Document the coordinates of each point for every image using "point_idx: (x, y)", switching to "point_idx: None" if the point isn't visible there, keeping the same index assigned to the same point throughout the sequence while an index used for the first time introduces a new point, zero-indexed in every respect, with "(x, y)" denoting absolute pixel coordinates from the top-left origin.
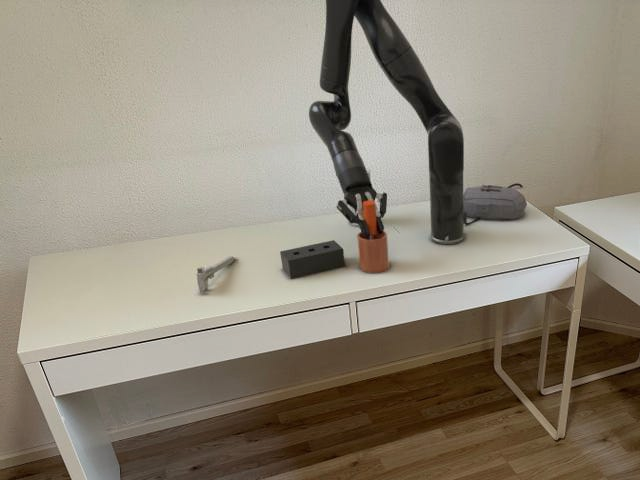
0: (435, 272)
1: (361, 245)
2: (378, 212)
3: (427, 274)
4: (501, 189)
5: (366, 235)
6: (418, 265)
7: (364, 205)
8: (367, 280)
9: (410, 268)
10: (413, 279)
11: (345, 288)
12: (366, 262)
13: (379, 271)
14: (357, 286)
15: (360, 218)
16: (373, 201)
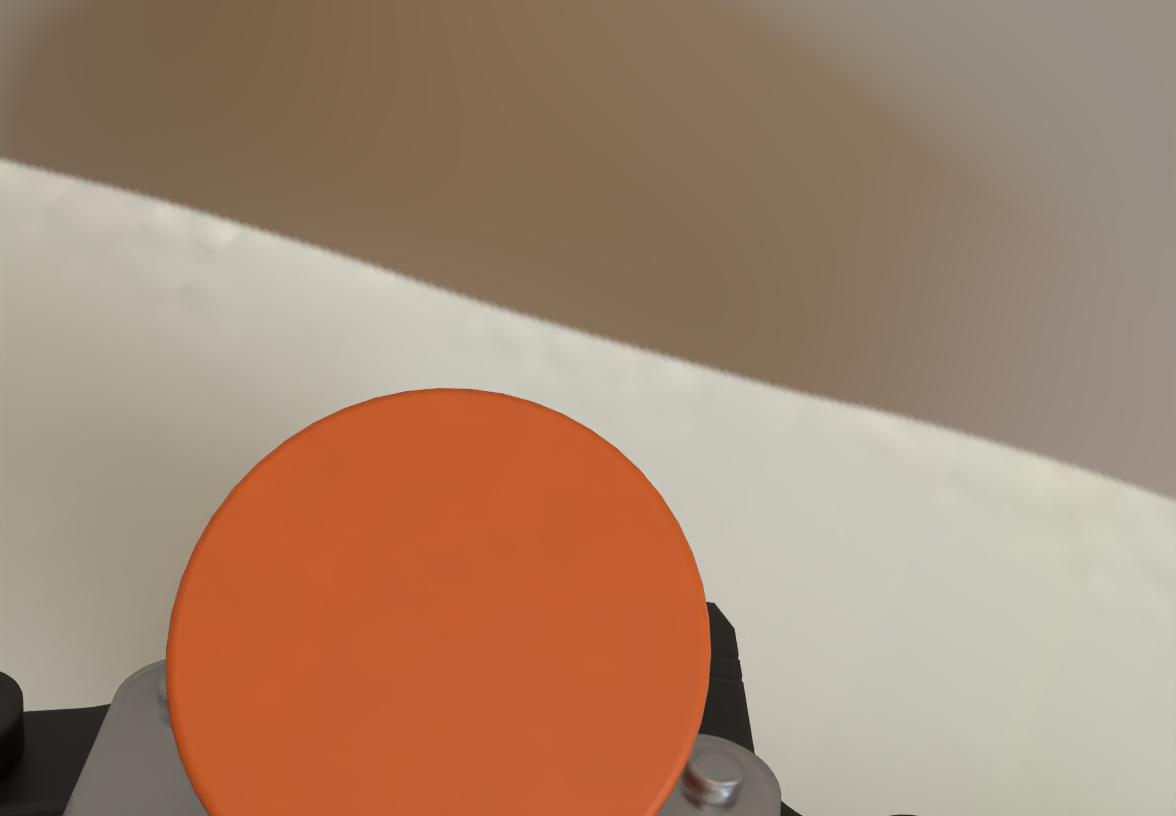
0: (57, 252)
1: None
2: (126, 737)
3: (153, 268)
4: None
5: None
6: (48, 496)
7: (698, 606)
8: (725, 546)
9: (174, 491)
10: (339, 272)
11: (997, 535)
12: None
13: None
14: (875, 496)
15: (749, 775)
16: (202, 632)
